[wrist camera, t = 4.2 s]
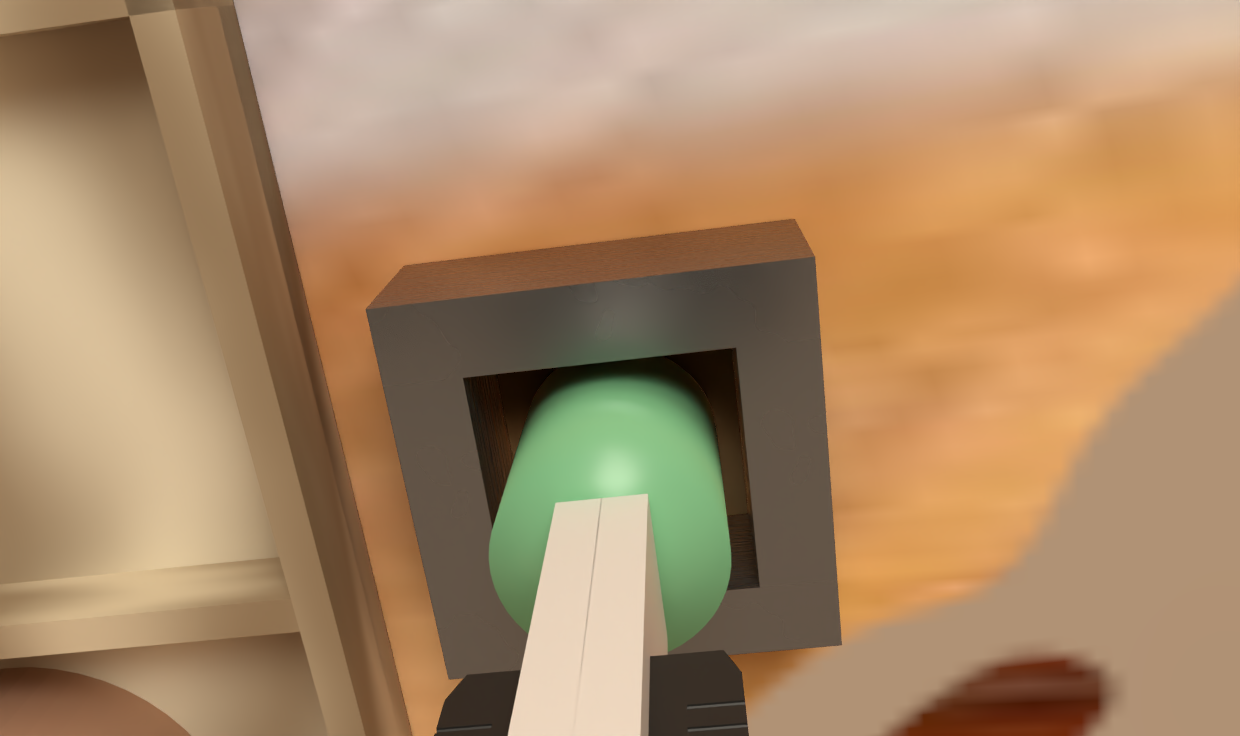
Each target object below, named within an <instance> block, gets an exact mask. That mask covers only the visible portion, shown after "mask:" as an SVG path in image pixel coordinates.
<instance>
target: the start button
mask: <svg viewBox="0 0 1240 736" xmlns="http://www.w3.org/2000/svg"><path fill="white" fill-rule="evenodd" d="M639 494H648V498H649V505H650V513H651V520H652V527H653V535H654V542H655V549H656V557H657V564H658V571H659V579H660V586H661V594H662V601H663V608H664V616H665V623H666V630H667V638H668V652H669V651H671V650H673V649H675V648H677V647H679V646H681V645H682V644H684V643H685V642H686V641H688V640H689V639H691V638H692V637H694V636H695V635H696V634H697V633H698V632H699V631H700V630H701V629H702V628H703V627H704V626H705V625H706V624H707V623H708V622H709V620H710V619H711V618H712V617H713V615H714V614H715V612H716V611H717V609H718V607H719V606H720V604H721V602H722V600H723V597H724V595H725V593H726V590H727V586H728V583H729V579H730V572H731V547H730V538H729V530H728V522H727V513H726V505H725V497H724V488H723V480H722V472H721V463H720V455H719V447H718V438H717V430H716V423H715V418H714V414H713V411H712V408H711V405H710V403H709V401H708V399H707V397H706V395H705V393H704V391H703V390H702V389H701V387H700V386H699V384H698V383H697V382H696V381H695V380H694V379H693V377H692V376H691V375H690V374H689V373H687V372H686V371H685V370H684V369H683V368H682V367H680V366H679V365H677V364H676V363H674V362H673V361H671V360H669V359H667V358H665V357H663V356H656V357H647V358H637V359H628V360H619V361H610V362H601V363H592V364H583V365H574V366H565V367H558V368H557V369H556V370H555V371H553V372H552V373H551V374H550V375H549V376H548V377H547V378H546V380H545V381H544V382H543V383H542V385H541V386H540V388H539V389H538V390H537V392H536V394H535V396H534V398H533V400H532V402H531V405H530V408H529V411H528V414H527V417H526V421H525V424H524V427H523V430H522V434H521V437H520V440H519V444H518V447H517V450H516V453H515V457H514V460H513V463H512V467H511V470H510V473H509V476H508V480H507V483H506V486H505V489H504V493H503V496H502V499H501V503H500V506H499V509H498V512H497V516H496V519H495V522H494V526H493V529H492V532H491V538H490V544H489V565H490V573H491V577H492V581H493V584H494V587H495V590H496V592H497V594H498V597H499V599H500V601H501V602H502V604H503V606H504V607H505V609H506V611H507V612H508V613H509V615H510V616H511V617H512V618H513V619H514V621H515V622H516V623H517V624H518V625H519V626H520V627H521V628H522V629H523V630H524V631H525V632H526V633H528V634H529V629H530V624H531V620H532V615H533V610H534V605H535V600H536V595H537V590H538V586H539V581H540V576H541V571H542V566H543V561H544V556H545V551H546V547H547V542H548V537H549V532H550V527H551V522H552V517H553V513H554V508H555V503H558V502H568V501H578V500H588V499H598V498H608V497H618V496H629V495H639Z"/></svg>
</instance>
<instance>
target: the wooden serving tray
mask: <svg viewBox="0 0 1240 736" xmlns="http://www.w3.org/2000/svg"><path fill="white" fill-rule="evenodd" d="M18 667H36V668H49V669H58V670H63V671H69V672H74V673H79V674H83V675H86V676H89V677H93V678H96V679H100V680H103V681H105V682H108V683H110V684H113V685H115V686H118V687H120V688H123V689H125V690H127V691H129V692H131V693H133V694H135V695H136V696H138V697H140V698H142V699H144V700H146V701H148V702H149V703H151V704H152V705H154V706H155V707H157V708H158V709H160V710H161V711H163V712H164V713H166V714H167V715H168V716H169V717H171V718H172V719H173V720H174V721H175V722H177V723H178V724H179V725H180V726H182V727H183V728H184V729H185V730H186V731H187V732H188V733H189V734H190V735H191V736H412V732H411V728H410V724H409V720H408V716H407V712H406V708H405V704H404V700H403V696H402V691H401V687H400V683H399V679H398V675H397V671H396V667H395V663H394V659H393V655H392V650H391V646H390V642H389V638H388V634H387V630H386V626H385V622H384V618H383V614H382V609H381V605H380V601H379V597H378V593H377V589H376V585H375V581H374V577H373V573H372V568H371V564H370V560H369V556H368V552H367V548H366V544H365V540H364V536H363V532H362V528H361V523H360V519H359V515H358V511H357V507H356V503H355V499H354V495H353V491H352V487H351V482H350V478H349V474H348V470H347V466H346V462H345V458H344V454H343V450H342V446H341V441H340V437H339V433H338V429H337V425H336V421H335V417H334V413H333V409H332V405H331V400H330V396H329V392H328V388H327V384H326V380H325V376H324V372H323V368H322V364H321V359H320V355H319V351H318V347H317V343H316V339H315V335H314V331H313V327H312V323H311V318H310V314H309V310H308V306H307V302H306V298H305V294H304V290H303V286H302V282H301V277H300V273H299V269H298V265H297V261H296V257H295V253H294V249H293V245H292V241H291V236H290V232H289V228H288V224H287V220H286V216H285V212H284V208H283V204H282V200H281V195H280V191H279V187H278V183H277V179H276V175H275V171H274V167H273V163H272V159H271V154H270V150H269V146H268V142H267V138H266V134H265V130H264V126H263V122H262V118H261V114H260V109H259V105H258V101H257V97H256V93H255V89H254V85H253V81H252V77H251V73H250V68H249V64H248V60H247V56H246V52H245V48H244V44H243V40H242V36H241V32H240V27H239V23H238V19H237V15H236V11H235V7H234V3H233V0H0V669H3V668H18Z"/></svg>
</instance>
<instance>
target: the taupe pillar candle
mask: <svg viewBox="0 0 1240 736" xmlns="http://www.w3.org/2000/svg"><path fill="white" fill-rule="evenodd" d="M0 736H191V735H190V734H189V733H188V732H187V731H186V730H185V729H184V728H183V727H182V726H180V725H179V724H178V723H177V722H175V721H174V720H173V719H172V718H171V717H169V716H168V715H167V714H166V713H164V712H163V711H161V710H160V709H158V708H157V707H155V706H154V705H152V704H151V703H149V702H148V701H146V700H144V699H142V698H140V697H138V696H136V695H135V694H133V693H131V692H129V691H127V690H125V689H123V688H120V687H118V686H115V685H113V684H110V683H108V682H105V681H103V680H100V679H96V678H93V677H89V676H86V675H83V674H79V673H74V672H69V671H63V670H58V669H49V668H36V667H18V668H3V669H0Z"/></svg>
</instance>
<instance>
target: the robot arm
mask: <svg viewBox="0 0 1240 736" xmlns="http://www.w3.org/2000/svg"><path fill="white" fill-rule="evenodd" d="M434 736H749V733H748V725H747V715H746V707H745V698H744V689H743V680H742V672H741V671H740V670H739V669H738V667H737V666H736V665H735V664H734V662H733V661H732V660H731V659H730V657H729V656H728V655H727V654H726V652H725V651H724V650H716V651H705V652H693V653H682V654H670V655H668V638H667V630H666V623H665V616H664V608H663V601H662V594H661V586H660V579H659V571H658V564H657V557H656V549H655V542H654V535H653V527H652V520H651V513H650V505H649V498H648V494H639V495H629V496H618V497H608V498H598V499H588V500H578V501H568V502H558V503H555V508H554V513H553V517H552V522H551V527H550V532H549V537H548V542H547V547H546V551H545V556H544V561H543V566H542V571H541V576H540V581H539V586H538V590H537V595H536V600H535V605H534V610H533V615H532V620H531V624H530V629H529V634H528V639H527V644H526V649H525V654H524V658H523V663H522V668H521V670H515V671H504V672H492V673H481V674H469V675H466V677H465V678H464V679H463V680H462V681H461V682H460V683H459V685H458V686H457V687H456V688H455V689H454V690H453V692H452V693H451V694H450V695H449V696H448V697H447V698H446V700H445V702H444V705H443V708H442V712H441V715H440V718H439V722H438V725H437V734H435V735H434Z"/></svg>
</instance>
